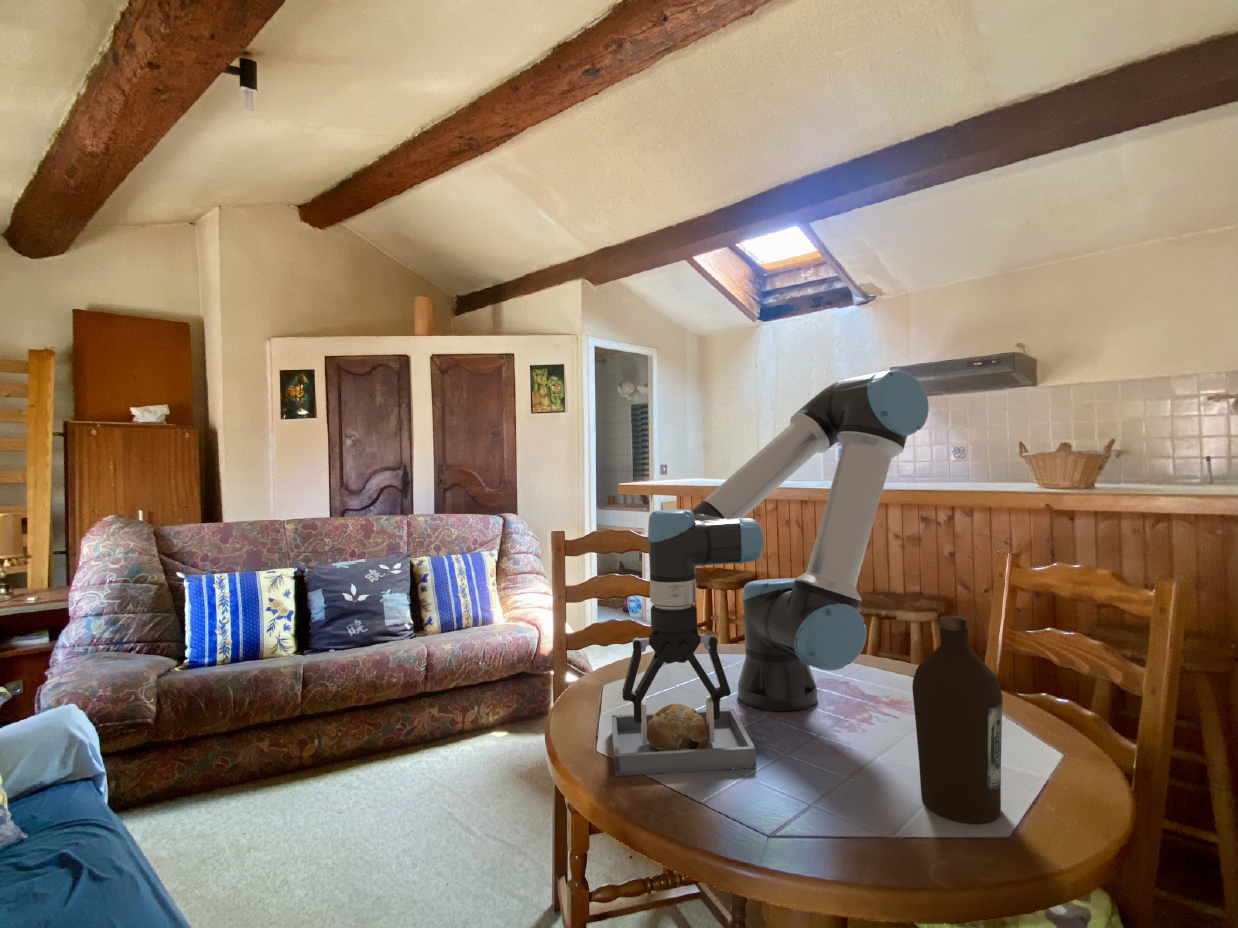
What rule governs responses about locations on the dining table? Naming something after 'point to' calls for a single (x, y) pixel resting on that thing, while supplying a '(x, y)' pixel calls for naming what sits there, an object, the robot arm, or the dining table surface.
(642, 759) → the tray
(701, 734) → the bread roll
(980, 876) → the dining table surface
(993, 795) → the olive oil
